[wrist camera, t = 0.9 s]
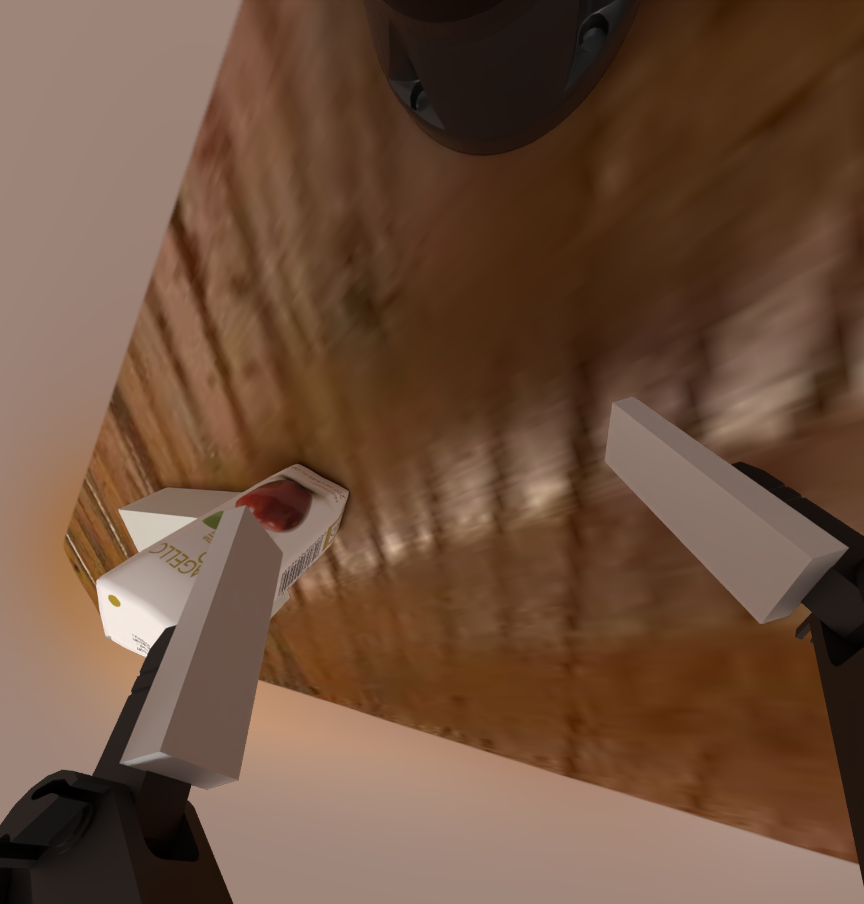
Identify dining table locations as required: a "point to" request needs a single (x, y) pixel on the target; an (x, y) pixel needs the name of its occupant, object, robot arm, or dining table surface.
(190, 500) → the stacking block
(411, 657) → the dining table surface
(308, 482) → the juice carton
